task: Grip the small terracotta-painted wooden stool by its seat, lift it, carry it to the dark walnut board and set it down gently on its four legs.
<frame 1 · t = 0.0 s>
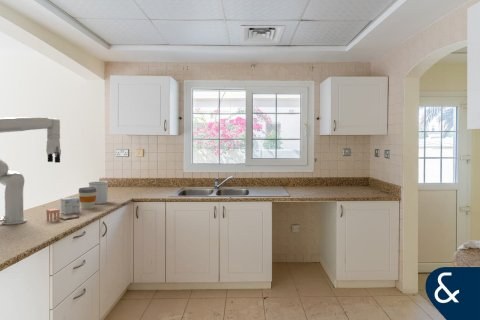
hand: (53, 162, 224), 37 cm above the worktop, tool pointing down, fingers open, 9 cm apart
stool: (53, 220, 213), on the worktop
walnut board: (67, 217, 221), on the worktop
utensil holder: (98, 202, 278), on the worktop
reusable coffee cup: (87, 207, 256), on the worktop
light bulb box: (70, 213, 236), on the worktop
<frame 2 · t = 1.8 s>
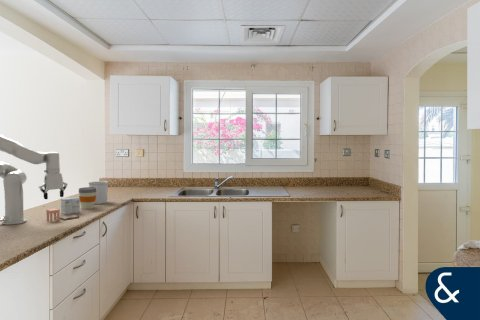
hand: (54, 197, 213), 14 cm above the worktop, tool pointing down, fingers open, 9 cm apart
nothing on the worktop moved.
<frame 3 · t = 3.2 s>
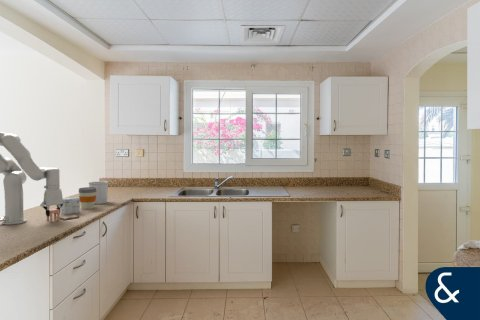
hand: (53, 214, 213), 4 cm above the worktop, tool pointing down, fingers closed on stool, 5 cm apart
stool: (53, 220, 213), on the worktop, touching gripper
everything else where it was.
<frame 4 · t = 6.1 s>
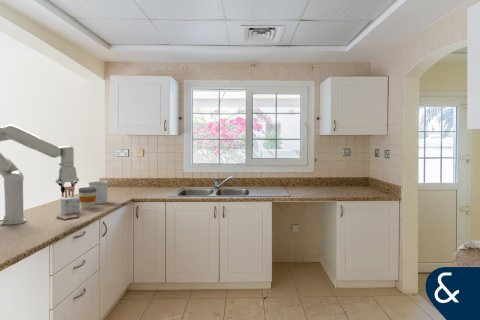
hand: (67, 191, 220), 18 cm above the worktop, tool pointing down, fingers closed on stool, 5 cm apart
stool: (67, 196, 220), point 14 cm above the worktop, touching gripper
everything else where it was.
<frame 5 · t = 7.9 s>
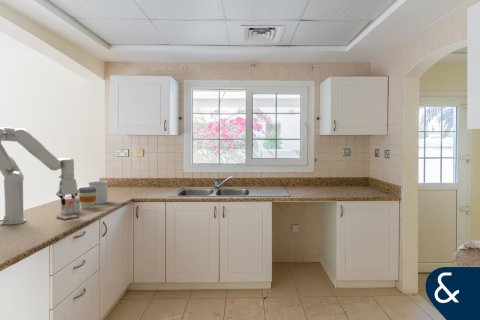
hand: (68, 203, 221), 9 cm above the worktop, tool pointing down, fingers closed on stool, 5 cm apart
stool: (68, 209, 221), point 6 cm above the worktop, touching gripper
everything else where it was.
when the fingers open (6 cm above the worktop, at t = 9.2 s): stool drops 1 cm, resting on walnut board.
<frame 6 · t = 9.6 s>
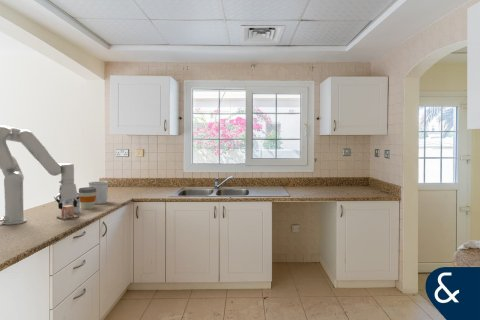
hand: (67, 207, 221), 7 cm above the worktop, tool pointing down, fingers open, 9 cm apart
stool: (67, 216, 221), point 1 cm above the worktop, touching walnut board
everything else where it was.
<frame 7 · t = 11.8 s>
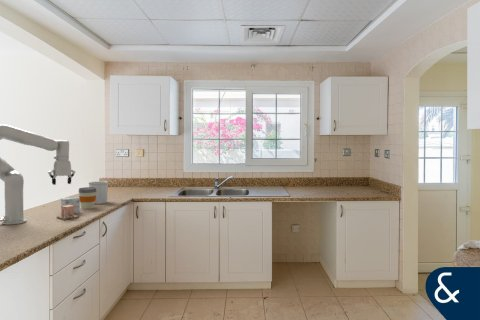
hand: (61, 184, 221), 22 cm above the worktop, tool pointing down, fingers open, 9 cm apart
nothing on the worktop moved.
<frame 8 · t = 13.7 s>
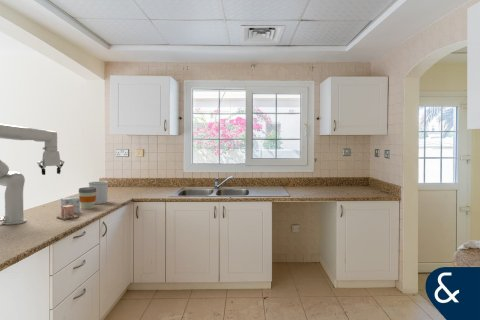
hand: (51, 174, 226), 28 cm above the worktop, tool pointing down, fingers open, 9 cm apart
nothing on the worktop moved.
at the end: stool 0.1 cm off-centre on the walnut board, point 1.0 cm above the walnut board's base; stool tilted 0°; the gripper is holding nothing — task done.
